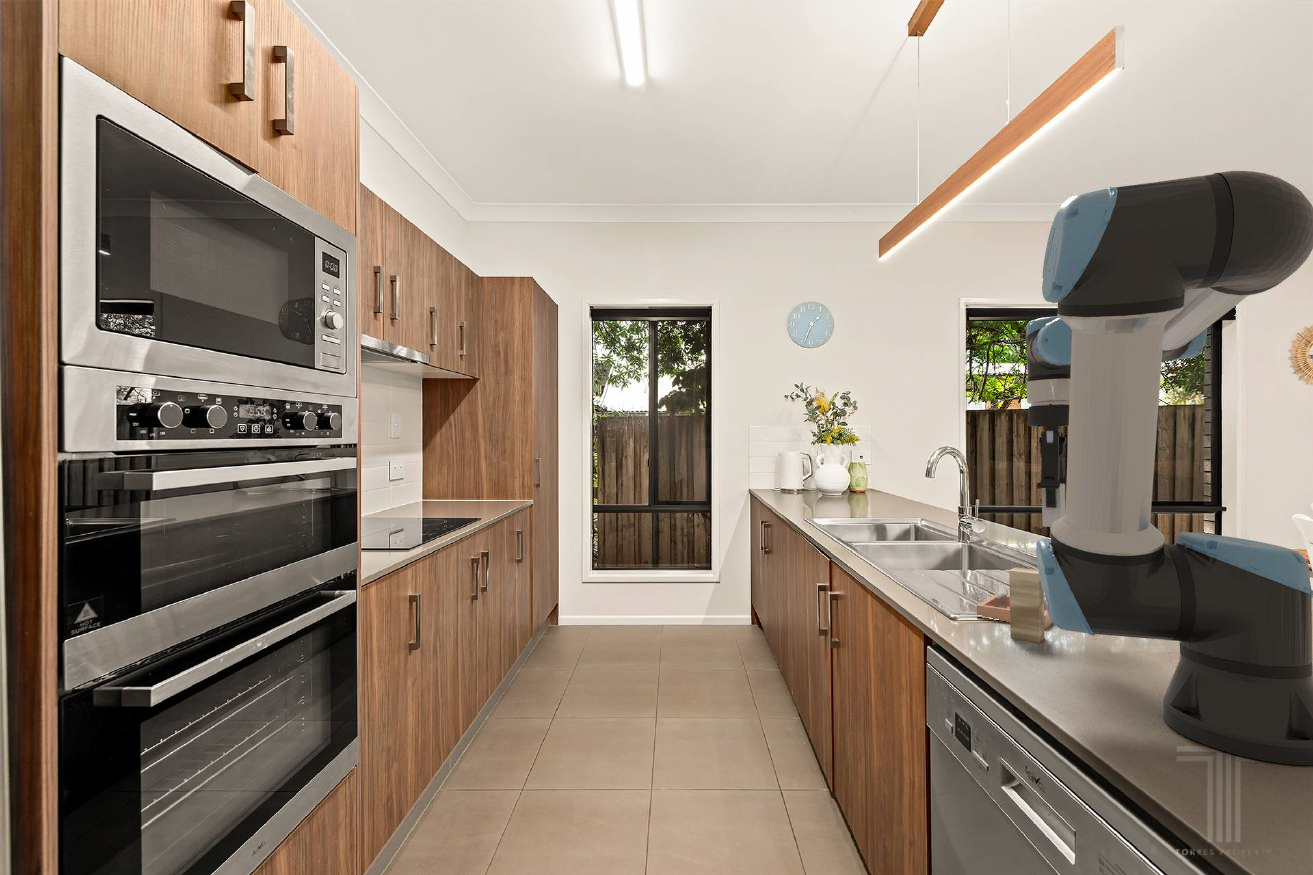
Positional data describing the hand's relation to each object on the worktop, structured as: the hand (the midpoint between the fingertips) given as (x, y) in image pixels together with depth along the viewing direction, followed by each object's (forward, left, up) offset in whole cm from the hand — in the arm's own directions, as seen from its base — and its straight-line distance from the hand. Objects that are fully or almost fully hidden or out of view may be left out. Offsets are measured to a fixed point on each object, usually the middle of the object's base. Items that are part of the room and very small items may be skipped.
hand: (1054, 522), depth 115 cm
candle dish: (+9, +8, -20) cm, 24 cm away
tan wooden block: (-5, +3, -20) cm, 21 cm away
